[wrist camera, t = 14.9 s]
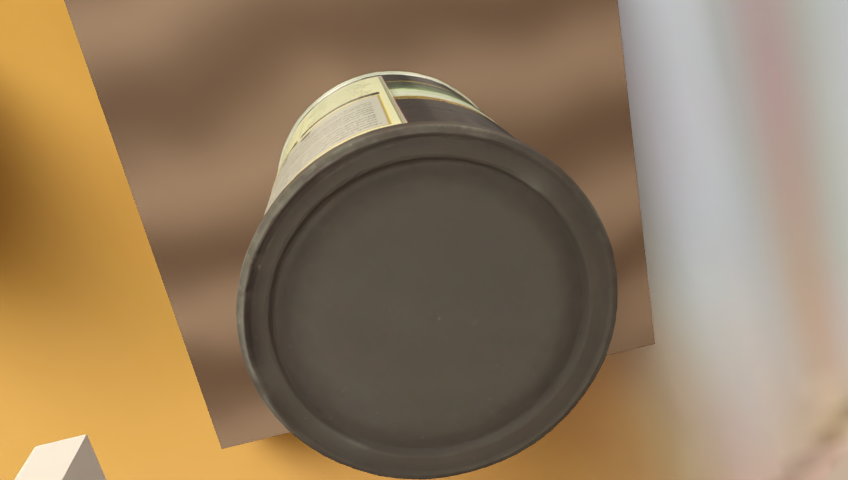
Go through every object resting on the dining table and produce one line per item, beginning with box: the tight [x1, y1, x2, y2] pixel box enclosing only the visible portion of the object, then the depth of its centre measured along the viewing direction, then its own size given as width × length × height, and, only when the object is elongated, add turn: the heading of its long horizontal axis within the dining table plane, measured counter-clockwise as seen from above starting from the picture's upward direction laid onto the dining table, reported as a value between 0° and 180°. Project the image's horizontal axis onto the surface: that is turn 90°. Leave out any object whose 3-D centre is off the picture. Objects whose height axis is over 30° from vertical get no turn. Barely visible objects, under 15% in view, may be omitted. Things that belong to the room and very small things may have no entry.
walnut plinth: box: [64, 0, 655, 449], centre depth 35 cm, size 22×22×5 cm
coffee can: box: [236, 71, 618, 479], centre depth 26 cm, size 10×10×14 cm
